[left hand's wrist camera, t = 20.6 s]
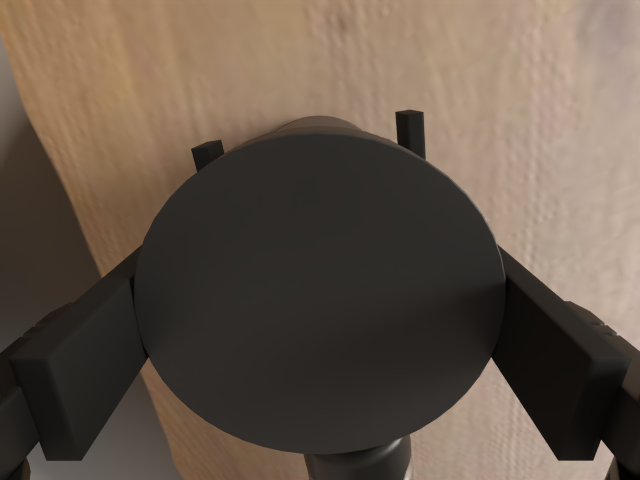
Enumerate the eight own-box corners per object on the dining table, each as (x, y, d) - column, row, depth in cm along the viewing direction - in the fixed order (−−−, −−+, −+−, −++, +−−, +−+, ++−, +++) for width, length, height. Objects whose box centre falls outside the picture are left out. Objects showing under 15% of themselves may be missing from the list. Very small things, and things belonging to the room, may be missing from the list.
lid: (209, 64, 10) (184, 57, 8) (543, 204, 11) (586, 225, 9) (132, 360, 13) (102, 402, 11) (392, 438, 15) (403, 486, 13)
